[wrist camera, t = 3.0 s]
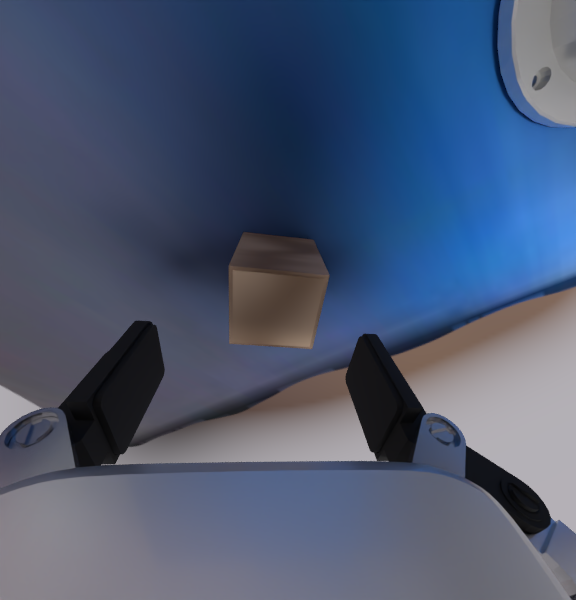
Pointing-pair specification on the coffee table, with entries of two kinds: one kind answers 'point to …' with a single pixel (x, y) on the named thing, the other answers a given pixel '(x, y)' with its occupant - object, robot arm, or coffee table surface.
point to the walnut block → (275, 291)
